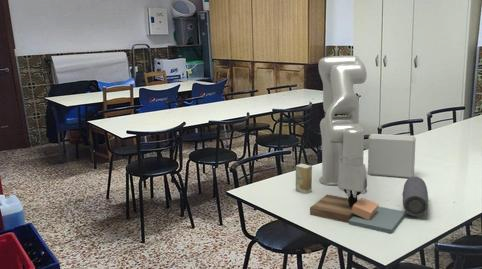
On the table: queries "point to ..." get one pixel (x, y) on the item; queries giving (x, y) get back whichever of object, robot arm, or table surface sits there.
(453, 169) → the table surface
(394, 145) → the bevelled white case
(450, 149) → the table surface
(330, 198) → the wooden board
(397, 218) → the mat
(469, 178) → the table surface
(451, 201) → the table surface
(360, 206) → the tile
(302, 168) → the skincare box
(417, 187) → the bluetooth speaker
